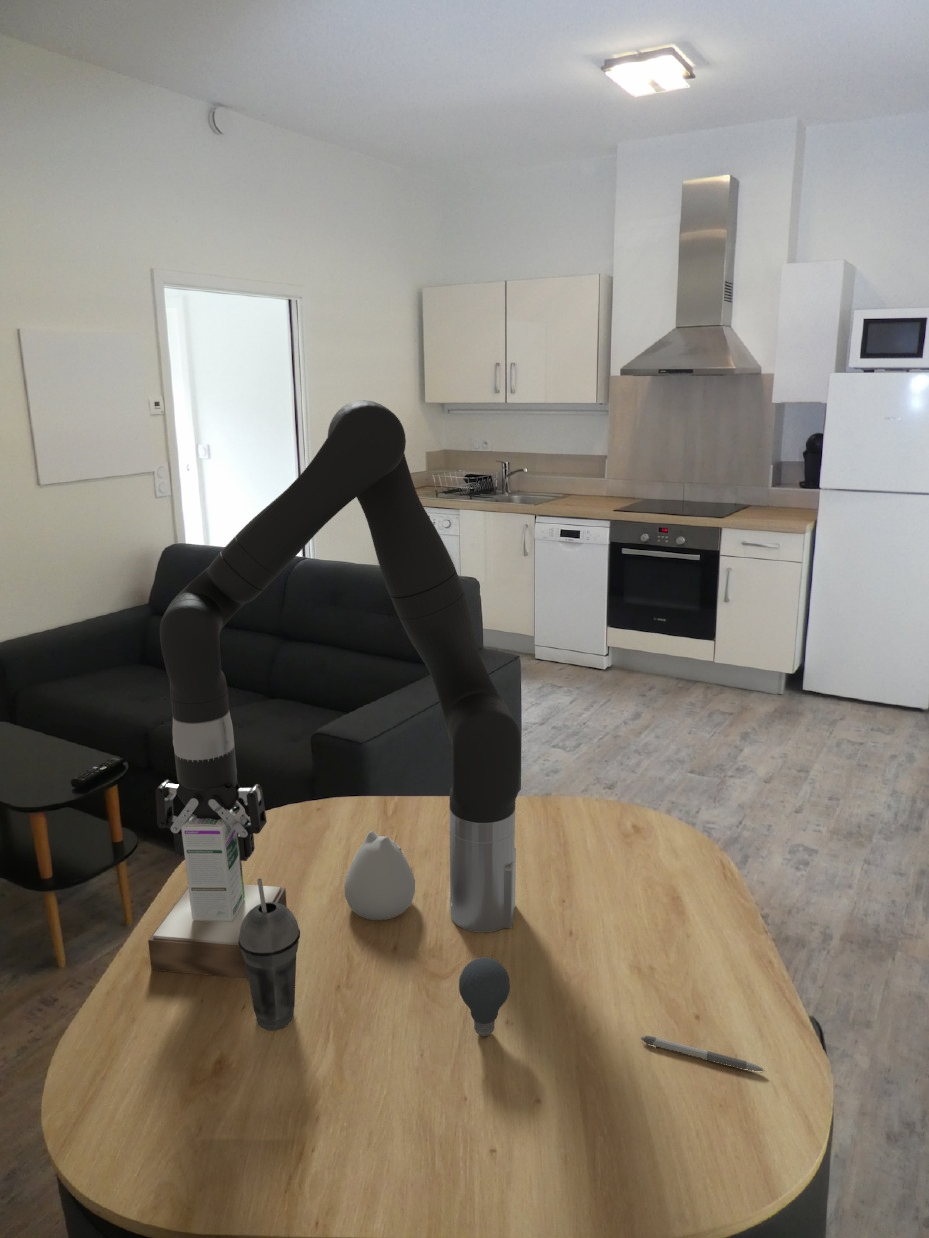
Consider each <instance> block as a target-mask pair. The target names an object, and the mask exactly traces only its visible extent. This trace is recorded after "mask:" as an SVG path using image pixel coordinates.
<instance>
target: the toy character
mask: <svg viewBox="0 0 929 1238" xmlns="http://www.w3.org/2000/svg"><path fill="white" fill-rule="evenodd" d="M415 893H416V879H415V876H414V873H413V869H412V867H411V866H410V864H409V862H408V859H407V857H406V856H405V854H404V853H403V851H402V847H400V845H398V844H397V843H396V842H395V841H393V840H392V838H390V837H389V836H387V835H386V836H383V835H380V836H379V835H378V834H377V833H376V832H375V831H374V830H371V831H369V832H368V833H367V835H366V836H365V838H364V840H363V842H362V844H361V846H360V847H359V848H358V850H357V852H356V854H355V855H354V858H353V859H352V862H351V864H350V867H349V869H348V871H347V874H346V876H345V882H344V895H345V899H346V902H347V904H348V906H349V908H350V910H351V911H353V913H355V914H356V915H357V916H359V917H361V918H363V919H367V920H371V921H386V920H390V919H393V918H396V917H398V916H400V915H401V914H403V913H404V912H405V911H406V910H407V909H408V908H409V907H410V905H412V902H413V900H414V896H415Z"/></svg>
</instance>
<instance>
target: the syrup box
mask: <svg viewBox="0 0 929 1238" xmlns="http://www.w3.org/2000/svg"><path fill="white" fill-rule="evenodd" d="M230 813H231V814H232V815H233V810H232V809H231V810H230ZM181 829H182V837H183V846H184V855H185V857H184V861H185V862H184V863H185V870H186V877H187V888H189V896H190V905H191V913H192V919H193V920H195V921H211V922H232V921H233V920H234V917H235V916H236V914H237V912H238V910H239V908H240V906H241V904H242V902H243V900H244V898H245V893H244V884H245V883H244V875H243V864H242V861H241V860H240V851H239V840H238V837H239V836H240V835H239V834H238V833H237V832H236V830H235V829H234V828H233V827H232V826H228V825H227V824H226V822H225V821H224V820H223V819H222V818H221V819H220V820H215V819H211V818H204V819H198V818H197V816H195V815H193V814H192V815H191V816H190V818H189V819H188V820H187V821H186V822H185V823H184V825H183V826H182V827H181Z"/></svg>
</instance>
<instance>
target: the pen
mask: <svg viewBox="0 0 929 1238" xmlns="http://www.w3.org/2000/svg"><path fill="white" fill-rule="evenodd" d="M640 1039H641V1041H643V1042H644V1043H646V1045H647V1044H650V1045H654V1046H657V1048H661V1049H664V1048H666V1049H665V1050H668V1049H669V1051H672V1050H674V1051H673V1052H675V1051H677V1052H676V1053H679V1052H682V1053H681V1054H683V1053H685V1054H690V1055H693V1056H692V1057H694V1056H697V1057H696V1058H698V1057H701V1058H704V1059H707V1060H710V1061H709V1062H711V1061H715V1062H719V1063H722V1064H725V1065H724V1066H726V1064H727V1065H731V1066H734V1067H736V1068H735V1069H737V1067H738V1068H742V1069H748V1070H751V1071H752V1070H754V1071H763V1070H764V1068H763V1067H761V1066H759V1065H757V1064H755V1063H752V1062H749V1061H747V1060H743V1059H739V1058H736V1057H731V1056H728V1055H724V1054H720V1053H716V1052H712V1051H708V1050H705V1049H700V1048H696V1047H692V1046H688V1045H685V1044H681V1043H678V1042H673V1041H670V1040H666V1039H663V1038H659V1037H655V1036H649V1035H645V1036H640ZM678 1051H679V1052H678ZM690 1055H689V1056H690ZM701 1058H700V1059H701ZM704 1059H703V1060H704ZM707 1060H706V1061H707ZM715 1062H714V1063H715ZM722 1064H721V1065H722ZM764 1071H765V1072H766V1070H764ZM764 1071H763V1072H764Z"/></svg>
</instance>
